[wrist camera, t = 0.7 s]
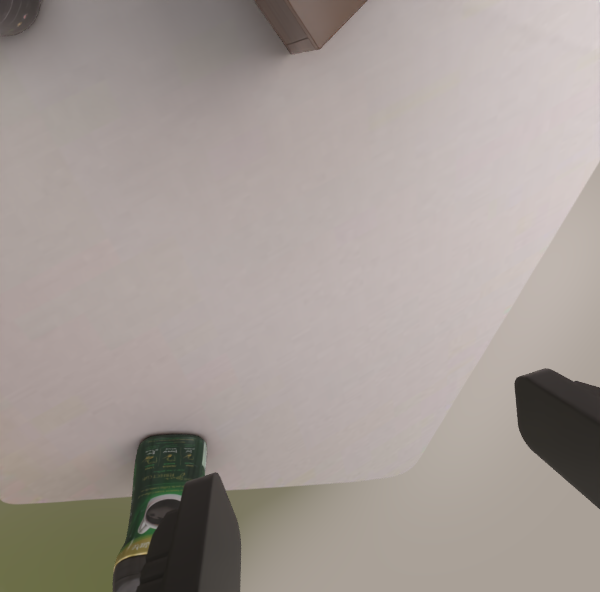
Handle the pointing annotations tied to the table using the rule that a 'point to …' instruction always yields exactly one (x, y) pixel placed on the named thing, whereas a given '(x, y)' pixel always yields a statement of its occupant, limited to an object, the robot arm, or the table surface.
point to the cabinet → (307, 20)
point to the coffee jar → (155, 497)
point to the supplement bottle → (17, 15)
